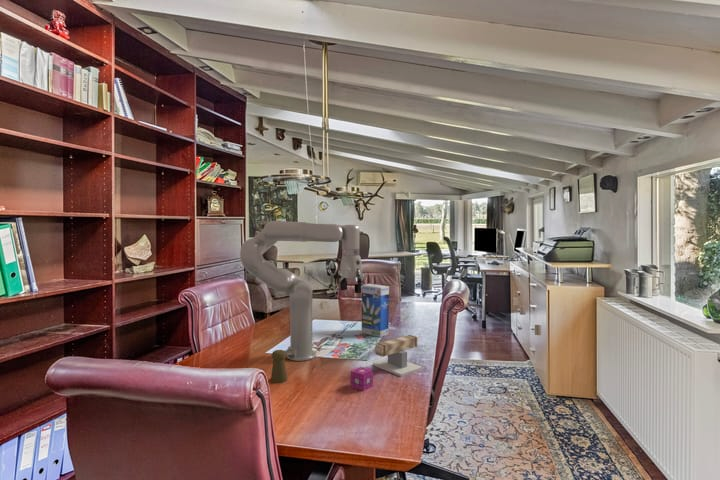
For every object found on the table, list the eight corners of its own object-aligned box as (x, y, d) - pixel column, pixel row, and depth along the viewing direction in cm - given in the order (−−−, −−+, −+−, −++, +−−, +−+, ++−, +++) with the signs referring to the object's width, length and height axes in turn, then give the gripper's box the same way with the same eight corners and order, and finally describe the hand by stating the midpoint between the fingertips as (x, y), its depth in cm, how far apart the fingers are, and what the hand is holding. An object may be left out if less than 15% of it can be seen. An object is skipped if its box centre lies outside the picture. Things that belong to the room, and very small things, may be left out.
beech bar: (382, 356, 148) (382, 346, 148) (375, 354, 152) (375, 343, 151) (417, 346, 161) (417, 336, 161) (410, 344, 164) (410, 334, 164)
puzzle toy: (360, 382, 142) (360, 366, 142) (373, 386, 138) (373, 370, 138) (350, 387, 138) (350, 371, 137) (363, 391, 134) (363, 375, 134)
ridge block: (401, 376, 147) (401, 358, 146) (373, 365, 159) (373, 348, 159) (422, 369, 154) (422, 352, 154) (393, 358, 167) (393, 342, 166)
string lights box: (361, 332, 207) (361, 284, 206) (370, 329, 213) (370, 283, 212) (380, 337, 198) (380, 287, 197) (389, 334, 204) (389, 285, 203)
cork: (279, 384, 139) (279, 354, 139) (267, 381, 143) (267, 351, 142) (290, 378, 145) (290, 349, 144) (278, 375, 148) (278, 347, 147)
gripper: (370, 253, 166) (370, 293, 166) (345, 251, 179) (345, 288, 180) (356, 254, 161) (356, 295, 162) (332, 252, 174) (332, 289, 175)
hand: (350, 291), depth 171 cm, fingers open, 9 cm apart
